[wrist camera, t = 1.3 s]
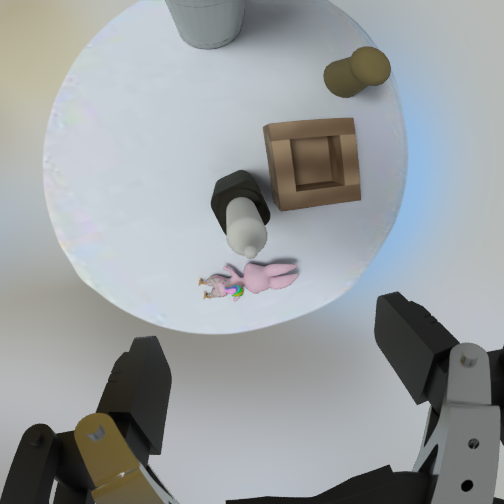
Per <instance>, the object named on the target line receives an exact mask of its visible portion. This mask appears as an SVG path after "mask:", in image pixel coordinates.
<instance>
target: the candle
mask: <svg viewBox="0 0 504 504" xmlns="http://www.w3.org/2000/svg"><path fill="white" fill-rule="evenodd" d="M211 208H212V210H213V212H214V214H215V216H216V218H217V220H218V222H219V224H220V226H221V228H222V230H223V232H224V233H225V235H226V236H227V242H228V245H229V246H230V248H231V249H232V250H233V251H234V252H235V253H237V254H239V255H243V256H245V257H247V258H249V259H253V258H255V257H256V256H257V253H258V252H260V251H261V250H262V249H263V248H264V246H265V244H266V241H267V230H266V227H265V225H266V224H267V223H268V222H269V220H270V211H269V209H268V207H267V204H266V202H265V200H264V198H263V196H262V194H261V191H260V189H259V187H258V185H257V184H256V183H255V181H254V180H253V179H252V178H251V176H250V175H249V174H248V173H247V172H246V171H244V170H239V171H236V172H234V173H232V174H230V175H228V176H226V177H223V178H221V179H219V180H218V181H217V182H216V185H215V188H214V192H213V196H212V200H211Z"/></svg>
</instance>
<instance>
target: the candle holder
mask: <svg viewBox="0 0 504 504" xmlns="http://www.w3.org/2000/svg"><path fill="white" fill-rule="evenodd" d="M263 132H264V138H265V145H266V152H267V159H268V165H269V173H270V180H271V187H272V194H273V202H274V203H275V205H276V206H277V207H278V208H279V210H280V211H288V210H294V209H301V208H308V207H315V206H321V205H329V204H336V203H343V202H350V201H358V200H361V191H360V176H359V164H358V153H357V144H356V135H355V127H354V119H353V118H333V119H316V120H303V121H292V122H282V123H273V124H268V125H266V126H264V127H263Z"/></svg>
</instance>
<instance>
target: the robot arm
mask: <svg viewBox="0 0 504 504" xmlns="http://www.w3.org/2000/svg"><path fill="white" fill-rule="evenodd" d="M165 1H166V4H167V6H168V8H169V11H170V13H171V15H172V18H173V20H174V22H175V25H176V27H177V29H178V32H179V34H180V36H181V37H182V39H183V40H184V41H185V42H186V43H188V44H189V45H191V46H193V47H197V48H201V49H214V48H218V47H221V46H224V45H226V44H228V43H229V42H231V41H232V40H233V39H234V38H235V37H236V36H237V35H238V33H239V32H240V30H241V27H242V21H243V15H244V9H245V3H246V0H165ZM374 333H375V339H376V343H377V345H378V346H379V348H380V349H381V351H382V352H383V354H384V355H385V357H386V358H387V360H388V361H389V363H390V364H391V366H392V367H393V369H394V370H395V372H396V373H397V375H398V376H399V378H400V379H401V381H402V382H403V384H404V385H405V387H406V389H407V390H408V392H409V393H410V395H411V396H412V398H413V399H414V401H415V403H416V404H417V405H419V404H421V403H423V402H426V401H429V402H430V404H431V406H430V408H429V412H428V417H427V422H426V427H425V431H424V436H423V440H422V444H421V449H420V452H419V455H418V458H417V460H416V462H415V464H414V467H413V469H412V472H408V471H403V472H393V471H392V469H391V467H390V465H387V466H384V467H381V468H379V469H376V470H373V471H370V472H368V473H364V474H361V475H358V476H355V477H352V478H350V479H348V480H347V481H345V482H343V483H341V484H339V485H337V486H335V487H333V488H331V489H329V490H327V491H325V492H323V493H321V494H319V495H317V496H314V497H306V498H305V497H271V496H265V497H257V498H250V499H239V500H226V504H504V500H503V499H499V498H495V497H494V491H495V485H496V478H497V470H498V461H499V446H500V440H501V442H502V444H503V445H504V346H503V349H501V350H495V351H490V352H486V351H485V350H484V349H483V348H482V347H480V346H478V345H476V344H473V343H461V344H460V343H459V342H458V340H457V339H456V338H455V337H453V335H452V334H451V333H450V332H449V331H448V330H447V329H446V328H445V327H444V326H443V325H442V324H441V323H439V322H438V321H437V319H436V318H435V317H433V316H431V314H430V313H429V312H428V311H427V310H426V309H425V308H424V307H423V306H421V305H419V304H417V303H415V302H413V301H410V302H409V301H408V300H407V299H406V298H405V297H404V296H403V295H401V294H400V293H399V292H393V293H389V294H385V295H381V296H379V297H378V299H377V305H376V318H375V328H374ZM111 373H112V374H110V376H109V379H108V383H107V384H106V387H105V389H104V392H103V394H102V397H101V400H100V403H99V405H98V408H97V411H96V413H93V414H90V415H88V416H86V417H84V418H83V419H82V420H81V421H79V423H78V424H77V426H76V428H75V430H74V431H68V432H63V433H57V434H55V433H54V431H53V430H52V429H51V428H50V427H49V426H48V425H46V424H35V425H33V426H31V427H30V428H28V429H27V430H26V431H25V433H24V434H23V436H22V439H21V441H20V443H19V446H18V449H17V451H16V454H15V456H14V459H13V462H12V465H11V467H10V470H9V473H8V476H7V480H6V483H5V486H4V489H3V492H2V496H1V499H0V504H49V498H50V493H51V489H52V485H53V481H54V479H55V480H56V481H57V482H58V484H57V488H56V492H55V497H54V501H53V504H95V503H96V504H180V503H179V502H178V501H177V500H176V499H175V498H174V497H173V495H172V494H171V493H170V492H169V490H168V489H167V488H166V487H165V485H164V484H163V483H162V481H161V480H160V479H159V477H158V476H157V475H156V473H155V472H154V471H153V469H152V468H151V466H150V465H149V464H148V458H149V455H160V454H161V448H162V441H163V434H164V427H165V421H166V414H167V407H168V402H169V395H170V389H171V382H172V377H171V371H170V368H169V365H168V363H167V360H166V358H165V355H164V353H163V350H162V348H161V346H160V343H159V341H158V339H157V337H156V336H147V337H137V338H135V339H134V340H133V343H132V345H131V348H130V351H129V352H124V353H123V354H122V355H121V356H120V357H119V358H118V360H117V361H116V362H115V364H114V367H113V369H112V371H111Z"/></svg>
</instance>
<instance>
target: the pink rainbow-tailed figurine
mask: <svg viewBox="0 0 504 504" xmlns="http://www.w3.org/2000/svg"><path fill="white" fill-rule="evenodd" d="M296 267H297V265H295V264H270V265H267V266H264V267H263V266H259V265H255V264H251V263H248V264H247V265H246V266H245V268H244V277H242V278H241V277H239V276H238V275H237V273H235V272H234V271H233V270H232V269H230V268H228V267H227V266H224V267H223V269H224V270H227V271H229V272H230V273H231V274H232V277H231V278H225V277H222V276H219V275H213V276H211V277H209V279H208V280H207V281H206V282H205V283H202V279H200V280H199V285H200V284H204V285H210V286H213V289H212V291H211V294H210V295H209V296H207V293H204V298H213V297H224V296H226V295H227V294H232V296H235V298H234V299H233V301H234V302H236V301H237V300H238V298H239V297H240V296H241V295H243V289H242V286H243V285H245V286H246V288H247V289H248V290H249V291H251V292H252V293H254V294H258V293H259V292H261V291H264V290H267V289H269V288H272V289H282V288H285V287H287V286H289V285H291V284H292V283H293V282H294V281H295V280H296V278H297V277H298V275H299V274H290V275H284V276H278V277H272V276H277V275H280V274H284V273H287V272H289V271H291V270H292V269H294V268H296ZM199 285H198V286H199ZM204 292H205V291H204ZM204 298H203V299H204Z"/></svg>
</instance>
